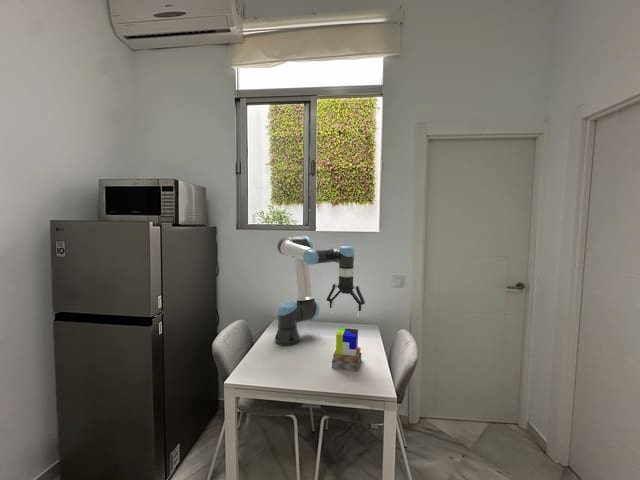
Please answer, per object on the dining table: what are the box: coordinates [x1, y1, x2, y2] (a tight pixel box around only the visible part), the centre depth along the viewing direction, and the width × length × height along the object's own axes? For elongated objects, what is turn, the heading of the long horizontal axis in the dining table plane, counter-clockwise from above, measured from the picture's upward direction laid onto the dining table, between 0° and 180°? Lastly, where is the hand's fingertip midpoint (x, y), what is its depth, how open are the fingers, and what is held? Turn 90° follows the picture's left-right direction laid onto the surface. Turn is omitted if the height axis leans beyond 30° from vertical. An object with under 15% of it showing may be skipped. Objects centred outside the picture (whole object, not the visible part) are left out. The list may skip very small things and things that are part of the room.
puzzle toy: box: [335, 327, 359, 356], centre depth 159 cm, size 10×10×10 cm
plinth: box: [331, 346, 362, 373], centre depth 160 cm, size 13×13×7 cm
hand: (345, 315), depth 162 cm, fingers open, 13 cm apart
